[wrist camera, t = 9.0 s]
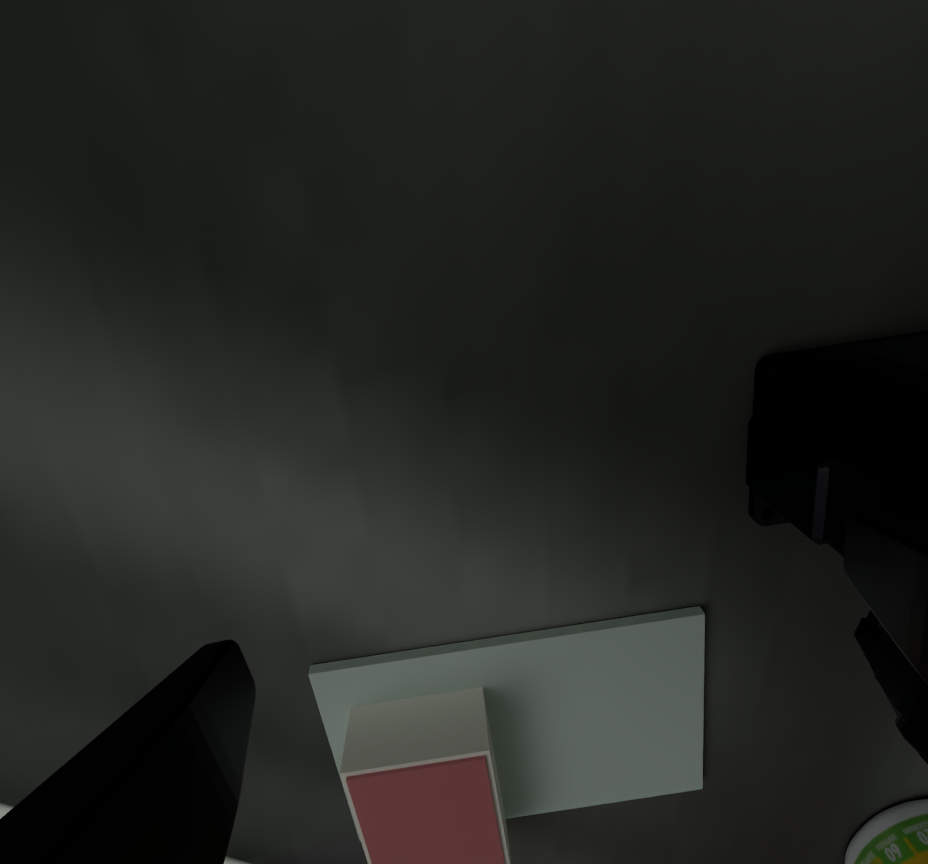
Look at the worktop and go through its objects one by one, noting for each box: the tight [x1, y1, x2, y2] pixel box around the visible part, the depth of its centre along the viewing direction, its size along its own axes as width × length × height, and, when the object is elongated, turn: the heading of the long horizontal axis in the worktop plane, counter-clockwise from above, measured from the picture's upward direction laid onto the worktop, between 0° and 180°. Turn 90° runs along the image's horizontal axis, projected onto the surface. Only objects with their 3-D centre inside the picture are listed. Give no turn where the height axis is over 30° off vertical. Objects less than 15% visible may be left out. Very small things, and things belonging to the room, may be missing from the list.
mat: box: [308, 606, 705, 841], centre depth 25 cm, size 16×10×1 cm, turn 98°
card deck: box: [340, 687, 511, 864], centre depth 24 cm, size 8×6×3 cm
